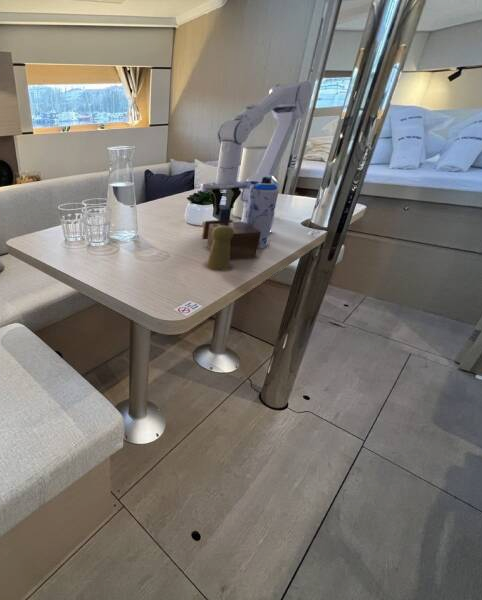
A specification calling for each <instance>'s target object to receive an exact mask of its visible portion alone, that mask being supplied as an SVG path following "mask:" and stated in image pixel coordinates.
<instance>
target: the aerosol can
mask: <svg viewBox="0 0 482 600" xmlns="http://www.w3.org/2000/svg"><path fill="white" fill-rule="evenodd" d="M278 195H279V187H278V188H277V186H276V185H275V184H274V183H273V182H271V178H270V177H263V178H262V182H259V183H257V184H255V185H254V187H252V188H251V190H250V195H249V201H248V206H247V211H246V217H245V222H244V223H246V224H248V225H250V226H251V227H253V228H255V229H257V230H258V231H260V232H261V234H260V239H259V244H258V248H257V249H265V248H266V247H267V246H268V240H269V235H270V233H269V231H270V227H271V223H272V218H273V214H274V215H275V209H276V204H277V200H278ZM273 219H274V218H273ZM272 224H273V223H272ZM271 228H272V227H271Z"/></svg>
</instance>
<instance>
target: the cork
mask: <svg viewBox="0 0 482 600" xmlns="http://www.w3.org/2000/svg"><path fill="white" fill-rule="evenodd" d="M233 234H234V231H233V229H232V228H231V227H229V226H217V227H215V228H214V229H213V232H212V236H213V238H214V240H213V244H212V247H211V251H210V250H209V255H208V258H207V261H206V268H208V269H210V270H212V271H227V270H229V269H230V268H231V267H230V266H231V265H230V263H231V262H230V261H231V259H230V240H231V239H232V237H233Z"/></svg>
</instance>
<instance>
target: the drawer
mask: <svg viewBox="0 0 482 600" xmlns="http://www.w3.org/2000/svg"><path fill="white" fill-rule="evenodd" d="M230 222H234V220H233V219H231V218H230V220H229V221H219V220H218V219H214V220H213V219H212V220H203V221H202V222H201V223H202V226H203V227H202V228H203V229H202V236H201V239H202V240H203V241H204V240H207V241H208V236H209V229H210V224H216V223H230Z"/></svg>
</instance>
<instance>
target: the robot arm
mask: <svg viewBox="0 0 482 600" xmlns="http://www.w3.org/2000/svg"><path fill="white" fill-rule="evenodd" d="M312 91H313V89H312V83H311V82H310V81H309V80H304V81H299V82H290V83H281V84H280V83H277V84H275V85H274V86H273V87H270V89H269V93H268V94H267V95H266V96H265V97H264V98H263V99H261V101H260V102H258V104H253V103H251V104H248V105H247V106H245V109H244V110H242V112H240V113H238V114H236V115H235V116H234V118H232V119H231V120H226V121H224V122H223V123H222V124H221V125H220V127H219V129H218V132H217V135H216V136H217V141H218V150H219V155H218V161H217V162H218V164H217V169H216V170H217V171H216V172H217V173H216V179H215V182H207V183H201V184H200V188H199V189H200V190H199V191H200V192H203V193H205V192H208V194H209V196H210V199H211V203H212V209H213V210H212V214H213V213H214V214H215V215H218V213H219V207H220V205H221V202H222V198H223V196H224V193H223V192H222V191H225V204H224V206H226V207H228V208H230V209H231V210H232V209H233V207H234V203H235V201H236V199H237V198H238V197H239V195H240V199H241V201H242V202H243V203H242V205H244V209H243V214H242V218H241V221H240V222H245V217H246V211H247V206H248V201H249V195H250V190H251V188H252V187H254V185H255V184H257V183H259V182H262V178H263V177H270V178H271V182H273V183H274V184H275V185H276V186H277V188H278V189H279V186H280V184H279V182H278V180H277V179H276V178H274V175H275V176H276V174H275V173H277V170H278V168H279V166H280V163H281V162H282V159H283V156H284V155H285V152H286V150H287V148H288V145H289V142H290V140H291V138H292V136H293V134H294V131H295V129H296V126H297V125H298V122H299V120H300V118H302V117H303V116H304V115H305V112H306V110H307V107H308V105H309V103H310V101H311V99H312ZM270 112H271V114H272V116H273V119H275V120H276V121H277V125H276V127H275V129H274V132H273V134H272V137H271V139H270V141H269V144H268V145H267V146H268V148H267V151H266V153H265V156H264V158H263V160H262V163H261V165H260V167H259V170H258V172H257V173H256V174H255V175H253V176H251V177H250V178H248V180H247V181H238V175H239V169H240V163H241V157H242V151H243V144H244V143H245V142H246V141H248V139H249V137H250V136H249V135H250V134H251V133H252V131H253V130H254V129H255V128H257V127H258V126H259V125H260V124H262V122H263V121H264V119H265V116H266V115H267V114H268V113H270ZM239 189H242V190H239ZM274 218H275V213H274V214H273V218H272V223H271V227H270V231H269V234H272V232H273V231H272V227H273V222H274Z"/></svg>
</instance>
